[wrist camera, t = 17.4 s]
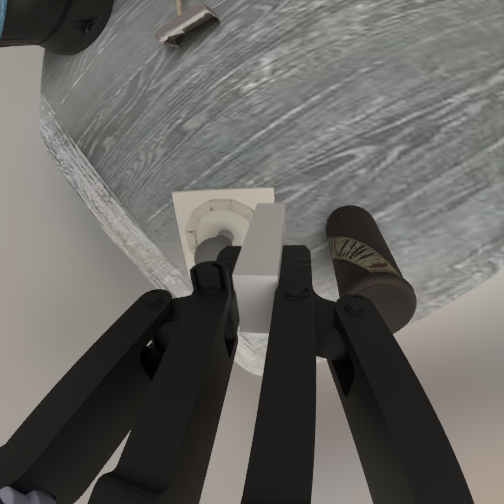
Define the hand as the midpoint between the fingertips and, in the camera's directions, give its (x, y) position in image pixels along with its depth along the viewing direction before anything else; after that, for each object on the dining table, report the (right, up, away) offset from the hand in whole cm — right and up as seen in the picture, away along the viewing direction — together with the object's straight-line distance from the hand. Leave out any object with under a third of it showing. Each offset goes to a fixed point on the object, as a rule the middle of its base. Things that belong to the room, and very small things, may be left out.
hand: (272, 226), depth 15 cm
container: (+15, +2, +28) cm, 31 cm away
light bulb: (-5, +1, +30) cm, 31 cm away
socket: (-5, +1, +31) cm, 32 cm away
